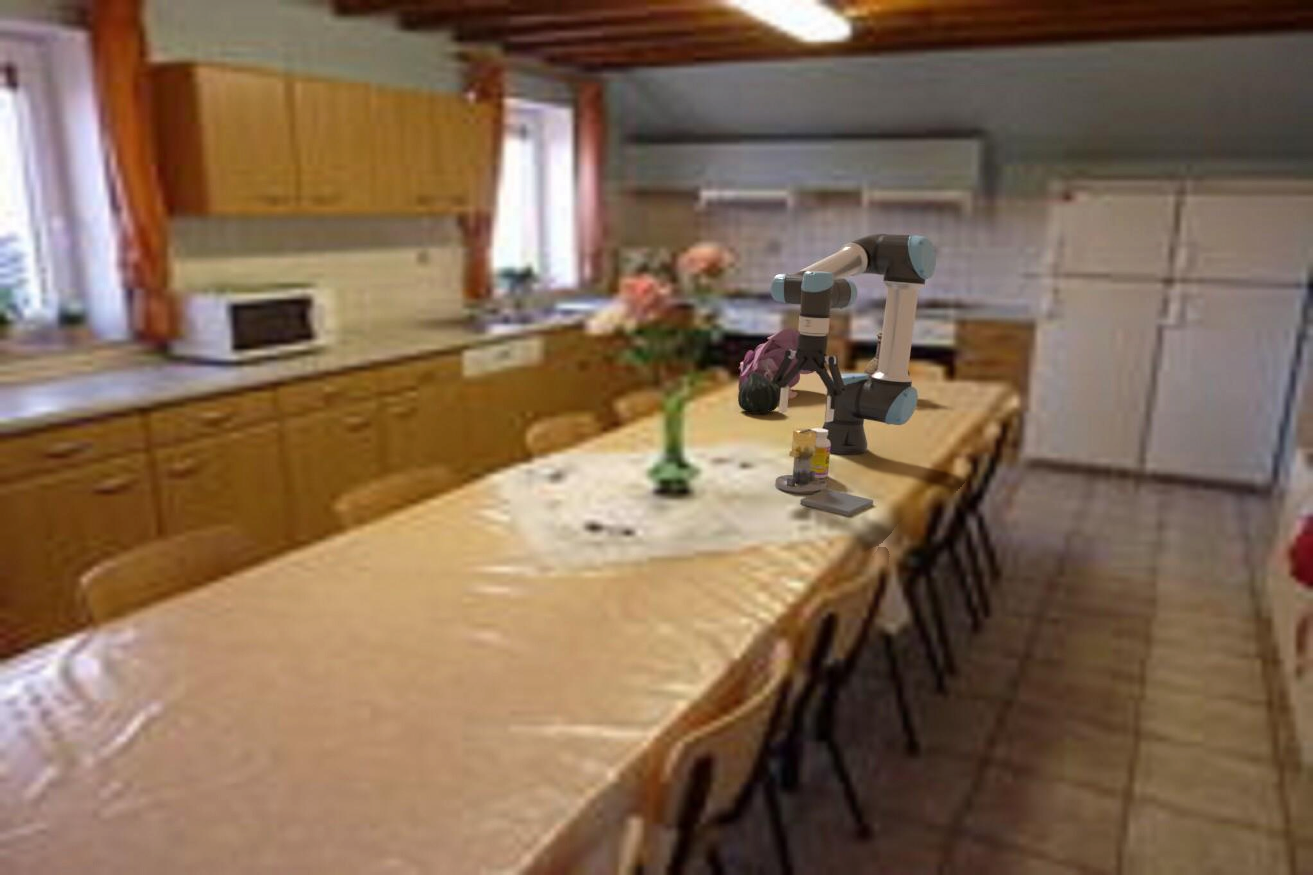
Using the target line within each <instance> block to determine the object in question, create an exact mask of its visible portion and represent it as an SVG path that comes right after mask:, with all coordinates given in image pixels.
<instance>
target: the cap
mask: <svg viewBox="0 0 1313 875" xmlns="http://www.w3.org/2000/svg"><path fill="white" fill-rule="evenodd" d="M811 429H812V428H796V429H793V430H792V442H791V450H790V451H789V454H788V455H789V457H792V458H794V457H798V456H800V457H812V456H815V451H817V446H816V436H817V432H816V431H814V430H811Z"/></svg>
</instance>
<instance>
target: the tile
mask: <svg viewBox="0 0 1313 875" xmlns="http://www.w3.org/2000/svg"><path fill="white" fill-rule="evenodd" d="M800 505H803V506H807V507H811V508H814V509H818V510H823V511H826V512H830V513H833V514H836V515H841V516H846V517H849V516H851V515H854V514H856V513H858V512H860V511H862V509H863V510H865V509H867V508H869V507H871V506H873V505H874V499H869V498H866V497H862V496H858V495H853V494H850V493H845V492H842V491H838V490H832V489H829V488H826V489H825V490H823V491H820V492H818V493H815V494H813V495H807V496H805V497H803V498H800ZM868 506H869V507H868ZM866 507H867V508H866ZM864 508H865V509H864Z"/></svg>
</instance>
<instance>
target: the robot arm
mask: <svg viewBox="0 0 1313 875" xmlns="http://www.w3.org/2000/svg"><path fill="white" fill-rule="evenodd" d="M936 255H937V254H936V250H935V247H934V244H933V242H932V241H931V239H929V238H928V237H926V236H923V235H922V236H921V235H915V234H893V233H890V234H889V233H875V234H868V235H866V236H863V237H859V238H857V239H855V240H852V241H850V242H848V243H846V244H844V245H842V246H841V247H840V249H839V250H838V251H837V252H836V253H834V254H832V255H830V256H827V257H825V258H823V259H821V260H819V261H817V262H815V263H813V264H811V265H809V266H807V267H805V268H803V269H801V270H799V271H797V272H795V273H791V274H788V273H779V274H777V275H775V276H774V277H773V279H772V280H771V285H770V293H771V294H770V295H771V297H772V299H773V300H774V301H775V302H779V303H784V304H785V305H787V304H789V305H790V304H792V305H800V307H799V308H800V309H799V310H800V311H799V316H798V317H799V319H798V329H797V330H798V331H797V332H800V334H799V335H798V338H797V352H796V351H794V350H793V349H791V350H786V352H785V357H784V360H783V361H782V363H781V365H780V367H779V369H778V371H777V372H776V374H775V376H774V378H773V380H772V383H773V384H776V385H777V386H778V399H780V400H779V404H778V405H779V408H778V413H779V414H783V413H787V411H788V401H789V398H788V393H789V387H785V386H787V384H788V383H789V382H790V381H791V380H792V379H793V378H794V377H795V376H796V375H797V373H798V372H799V371H800V370H809V371H812V372H813V373H814V372H815V373H816V374H817V375H818V376H819V377H820V379H821V381H822V383H823V385H824V386H825V388H826V403H825V412H824V413H825V416H824V423H823V425H822V427H821V429H826V430H828V435H827V439H828V440H829V441H830V443H831V446H830V454H838V455H861V454H865V453H867V451H868V441H867V436H866V432H865V428H864V425H865V424H864V422H865V420H867V421H870V422H871V421H872V422H877V423H883V424H886V425H894V426H902V425H905V424H906V423H907V422H908V421H910V419H911V418H912V417H913V414H914V413H915V410H916V408H917V403H918V398H919V396H918V390H917V389H916V387H914V386H913V385H912V384H913V379H912V378H911V375H910V376H909V375H908V370H909V366H910V357H911V349H912V342H913V334H914V329H915V328H914V327H915V318H916V313H917V312H916V311H917V305H918V296H919V291H920V290H921V289H922V288H923V287H925V284H926V280H928V279H931V278H932V277H933V275H934V272H935V270H936V264H937V263H936V262H937V256H936ZM862 274H870V275H871V274H873V275H879V276H880V275H881V276H883V281H882V282H883V283H884V285H885V287H887V290H886V291H887V293H886V301H885V308H884V316H883V317H884V318H883V323H882V324H883V325H882V331H881V333H882V338H881V346H880V354H879V362H878V370H877V371H876V372H875V373H874V374H873V375H872V376H871V381H870V380H868V379H869V377H868V375H867V374H864V373H860V372H859V373H854V372H853V373H841V372H840V368H839V364H838V356H837V355H832V356H831V355H830V356H828V355H827V350H828V339H829V337H828V335H827V334H828V333H829V331H830V330H829V329H830V319H831V309H832V310H833V309H836V310H837V309H840V310H841V309H846V308H849V307H851V306H852V305H854V304H855V302H856V300H857V298H858V288H857V285H856V284H855V283H854V282H853V281H852V280H850V279H847V278H849V277H858V276H860V275H862ZM795 357H796V359H797V361H798V362H797V363H796V364H795V365H794V366H793V368H792V369H791V370H790V371H789V372H788V373H787V374H786V375H785V373H786V371H787V369H788V368H789V366H790V364H791V362H792V360H793V359H794V358H795ZM825 363H826V364H827V366H828V369H829V372H830V373H829V372H828V369H827V367H826V365H825ZM784 375H785V376H784ZM783 377H784V378H783ZM782 378H783V379H782Z"/></svg>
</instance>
